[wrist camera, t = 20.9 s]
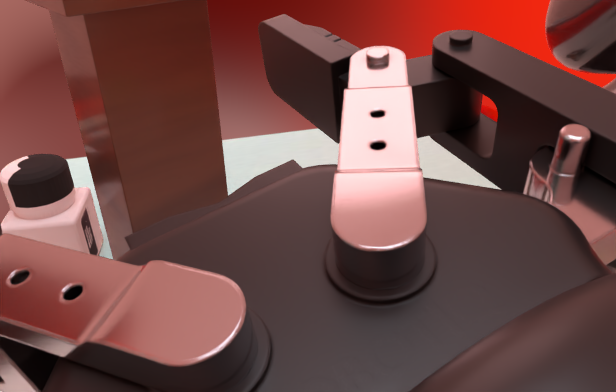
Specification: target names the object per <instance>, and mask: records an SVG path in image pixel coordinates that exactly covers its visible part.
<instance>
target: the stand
mask: <svg viewBox="0 0 616 392" xmlns="http://www.w3.org/2000/svg"><path fill="white" fill-rule="evenodd" d="M26 1H29V2H31V3H33V4H36V5H38V6H41V7H43V8H46V9H48V10H49V12H50V16H51V20H52V24H53V28H54V32H55V35H56V39H57V43H58V47H59V51H60V55H61V59H62V63H63V66H64V70H65V74H66V78H67V82H68V86H69V90H70V93H71V97H72V101H73V105H74V109H75V112H76V116H77V120H78V124H79V128H80V132H81V136H82V140H83V144H84V147H85V151H86V155H87V159H88V163H89V167H90V171H91V174H92V178H93V182H94V186H95V190H96V194H97V198H98V202H99V205H100V209H101V213H102V217H103V221H104V225H105V229H106V232H107V236H108V240H109V244H110V248H111V252H112V256H113V259H114V260H117V259H118V258H120V257H121V256H122V255H123V254H124V253H126V252H127V251H129V250H130V248H129V246H128V244H127V242H126V239H125V237H126V236H128V235H130V234H132V233H135V232H137V231H139V230H141V229H143V228H145V227H148V226H150V225H152V224H154V223H156V222H158V221H161V220H163V219H165V218H167V217H169V216H173V215H176V214H180V213H183V212H187V211H191V210H194V209H198V208H201V207H205V206H209V205H212V204H215V203H218V202H220V201H222V200H223V199H225V198H226V197H228V192H227V183H226V174H225V164H224V155H223V146H222V138H221V128H220V119H219V109H218V100H217V92H216V82H215V73H214V63H213V55H212V47H211V46H212V45H211V36H210V27H209V17H208V8H207V0H26Z"/></svg>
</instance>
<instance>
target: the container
mask: <svg viewBox="0 0 616 392" xmlns="http://www.w3.org/2000/svg"><path fill="white" fill-rule="evenodd" d="M0 181H1V184H2V187H3V190H4V193H5V195H6V198H7V201H8V204H9V206H10V211H9V212H8V214H7V215H6V217H5V218H4V220H3V221H2V223H1V228H2V233H3V234H4V233H8V234H13V235H17V236H21V237H25V238H29V239H33V240H37V241H41V242H45V243H49V244H53V245H56V246H60V247H64V248H68V249H72V250H76V251H80V252H84V253H88V254H92V255H96V256H98V255H99V252H100V249H101V246H102V243H103V236H102V232H101V229H100V225H99V221H98V217H97V214H96V210H95V206H94V202H93V199H92V195H91V191H90V189H89V188H88V187H83V188H75V187H74V184H73V180H72V177H71V173H70V170H69V166H68V163H67V161H66V160H65V159H64V158H62V157H60V156H58V155H52V154H35V155H30V156H26V157H23V158H20V159H17V160H15V161H13V162H12V163H10V164H8V165H7V166H5V167H4V168H3V169H2V171H1V173H0Z"/></svg>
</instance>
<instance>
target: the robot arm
mask: <svg viewBox="0 0 616 392" xmlns="http://www.w3.org/2000/svg"><path fill="white" fill-rule="evenodd" d="M545 28H546V38H547V42H548V45H549V48H550V50H551V52H552V54H553V55H554V56H555V57H556V59H557V60H558V61H559V62H560V63H562V64H563V65H565V66H566V67H568V68H571V69H574V70H577V71H580V72H585V73H598V74H606V73H607V74H616V0H551V1H550V4H549V8H548V12H547V17H546V27H545ZM258 29H259V30H258V31H259V38H260V43H261V48H262V54H263V59H264V65H265V70H266V75H267V79H268V82H269V84H270V86H271V88H272V90H273V91H274V93H275V94H276V95H277V96H279V97H280V98H281V99H282V100H284V101H285V102H286V103H287V104H289V105H290V106H291V107H292V108H294V109H295V110H296V111H297V112H299V113H300V114H301V115H302V116H304V117H305V118H306V119H307V120H309V121H310V122H311V123H313V124H314V125H315V126H316V127H318V128H319V129H320V130H321V131H323V132H324V133H325V134H326V135H328V136H329V137H330V138H331V139H333V140H334V141H335V142H336V143H338V144H339V143H340V144H339V156H338V165H336V164H332V165H317V166H311V167H306V168H302V167H301V166H299V165H298V164H297V163H296V162H295V161H294V160H291V161H289V162H286V163H284V164H282V165H280V166H278V167H276V168H273V169H271V170H269V171H267V172H265V173H263V174H260V175H258V176H256V177H254V178H253V179H252V180H250V181H249V182H247V183H246V184H244V185H243V186H242V187H240V188H239V189H237V190H236V191H235V192H233V193H232V194H230V195H229V196H228V197H226V198H225V199H223V200H222V201H220V202H218V203H215V204H212V205H209V206H205V207H201V208H198V209H194V210H191V211H187V212H183V213H180V214H176V215H173V216H169V217H167V218H165V219H163V220H161V221H158V222H156V223H154V224H152V225H150V226H148V227H145V228H143V229H141V230H139V231H137V232H135V233H132V234H130V235H128V236H126V237H125V239H126V242H127V244H128V246H129V248H130V250H129V251H127V252H126V253H124V254H123V255H122V256H121V257H120V258H118V259H117V260H112V259H108V258H104V257H100V256H96V255H92V254H88V253H84V252H80V251H76V250H72V249H68V248H64V247H60V246H56V245H53V244H49V243H45V242H41V241H37V240H33V239H29V238H25V237H21V236H17V235H13V234H8V233H4V234H3V233H2V228H1V223H0V391H2V392H616V78H615V79H614V80H613V81H612V82H610V83H609V84H607V85H606V86H604V87H603V88H601V87H599V86H597V85H595V84H593V83H590V82H588V81H586V80H583V79H581V78H579V77H577V76H575V75H573V74H570V73H568V72H566V71H564V70H562V69H559V68H557V67H555V66H552V65H550V64H548V63H546V62H543V61H542V60H539V59H537V58H535V57H533V56H530V55H528V54H526V53H524V52H521V51H519V50H517V49H515V48H513V47H511V46H508V45H506V44H504V43H502V42H499V41H497V40H495V39H493V38H490V37H488V36H486V35H484V34H482V33H479V32H476V31H470V30H453V31H448V32H445V33H442V34H439V35H438V36H436V37H435V38H434V40H433V47H432V55H428V56H423V57H418V58H413V59H408V60H406V56H405V54H404V52H402V51H401V50H399V49H397V48H394V47H389V46H375V47H374V46H373V47H368V48H365V49H362V50H361V49H360V48H357V47H356V46H354V45H352V44H350V43H349V42H347V41H345V40H341V38H339V37H338V36H335V35H332V33H330V32H328V31H326V30H325V29H323V28H320V27H315V26H309V25H303V24H301V23H300V22H298V21H296V20H294V19H292V18H291V17H289V16H287V15H285V14H283V15H280V16H277V17H275V18H271V19H269V20H266V21H263V22H261V23H260V24H259V27H258ZM483 94H484V95H485V96H487V97H489V98H490V99H491V100H492V101H493V102H494V103H495V105H496V107H497V110H498V120H497V122H495V121H493V120H492V119H490V118H488V117H487V116H485V115H483V114H482V113H480V112H481V104H482V95H483ZM424 136H430V137H431V138H432V139H433V140H434V141H435V142H437V143H438V144H440V145H441V146H442V147H444V148H445V149H447V150H448V151H449V152H451V153H452V154H453V155H455V156H456V157H458V158H459V159H460V160H462V161H463V162H464V163H466V164H467V165H469V166H470V167H471V168H473V169H474V170H475V171H477V172H478V173H480V174H481V175H482V176H484V177H485V178H487V179H488V180H489V181H491V182H492V183H493V184H495V185H496V186H498V187H499V188H500V189H502V190H499V189H493V188H487V187H480V186H474V185H468V184H461V183H455V182H449V181H443V180H436V179H430V178H424V177H423V173H422V169H420V164H419V154H418V145H417V138H420V137H424Z"/></svg>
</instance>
